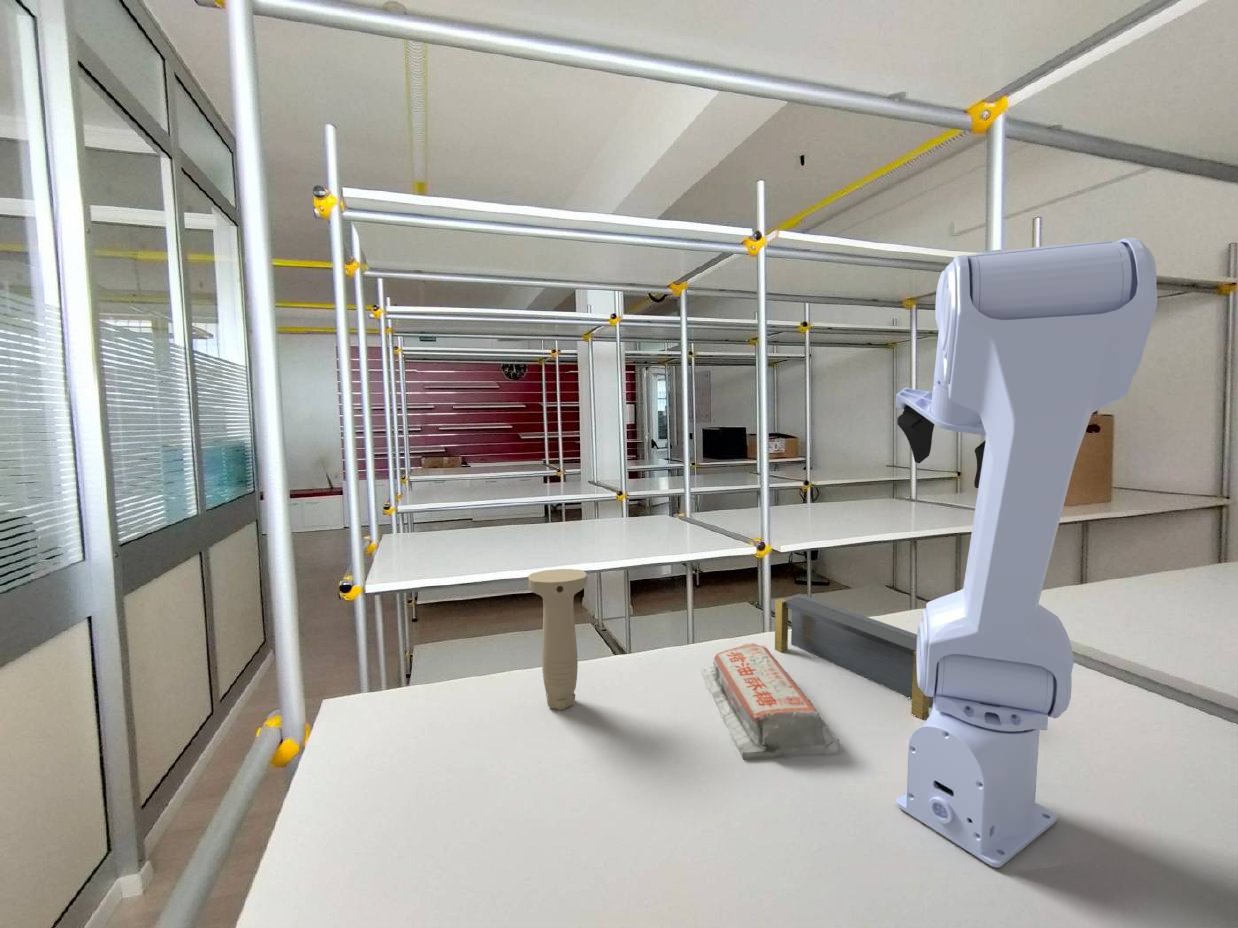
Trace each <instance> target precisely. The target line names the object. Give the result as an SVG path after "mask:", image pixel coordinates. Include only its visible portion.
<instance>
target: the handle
mask: <svg viewBox="0 0 1238 928" xmlns="http://www.w3.org/2000/svg"><path fill="white" fill-rule="evenodd" d="M587 582H588V579H587V572H586V571H584V570H582V569H573V568H559V569H548V570H541V571H540V570H539V571H537V572H532V573H530V574H529V575H528V588H529V590H530V591H531V592H533V593H534V594H536V595H538V596H540V597H542V603H543V604H542V605H543V607H542V609H543V610H542V611H543V612H542V613H543V615H542V617H543V618H542V640H541V641H542V642H541V643H542V646H541V666H542V667H541V669H542V670H541V671H542V678H543V685H544V689H545V697H546V702H547V707H549V708H550V709H556V710H559V711H564V710H565V709H567V708H569V707H572V706H574V704H575V702H576V694H575V691H576V687H577V682H578V681H577V680H578V669H579V668H578V667H579V666H578V664H579V663H578V661H579V660H578V647H577V635H576V634H577V633H576V624H575V623H576V622H575V610H574V609H575V608H574V600H575V599H574V597H575V595H576V594H577V593H579V592H581V591H582V590H583V589H585V588H586V587H587Z"/></svg>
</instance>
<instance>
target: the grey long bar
mask: <svg viewBox="0 0 1238 928" xmlns="http://www.w3.org/2000/svg"><path fill="white" fill-rule="evenodd" d="M774 603H775V604H774V605H775V607H774V608H775V610H774V612H775V613H774V620H775V621H774V650H775V651H778V652H779V653H784V652H787V651H788V646H789V645H788V643H789V640H788V639H789V609H790V610H791V627H790V628H791V630H792V631H791V630H790V632H791V634H790V637H791V638H790V640H791V641H790V645H792V646H795V647H797V648H799V649H801V650H803V651H805V652H808V653H810V654H811V655H812V654H813V655H814V656H816V657H819V658H821V659H822V660H825V661H828V662H830V663H832V664H834V665H835V666H838V667H840V668H843V669H845V670H847V671H849V672H852V673H854V674H857V675H858V676H861V677H863V678H865V679H868V681H869V680H870V681H872V682H874V683H876V684H878V685H880V686H883V687H885V688H888V689H889V690H892V691H894V692H896V693H898V694H901V695H903V696H905V697H907V696H908V697H907V698H909V697H910V699H911V698H912V699H911V711H910V712H911V714H913V715H915V716H914V717H916V716H917V717H916V718H918V719H920V718H921V719H920V720H924V719H926V718H928V717H929V716H930V714H929V713H930V708H931V707H932V708H933V701H934V700H933V697H929V696H925V695H924V693H923V692H922V691H921V689H920V688H919V687H918V683H917V665H916V653H917V634H916V633H914V632H911V631H909V630H906V629H902V628H900V627H896V626H893V625H891V624H888V623H885V622H882V621H880V620H876V619H874V618H871V617H868V616H865V615H862V614H859V613H857V612H853V611H850V610H848V609H846V608H841V607H839V606H837V605H833V604H831V603H828V602H825V601H823V600H819V599H816V598H813V597H811V596H807V595H804V594H802V593H798V594H794V595H791V599H788V600H787V599H784V598H779V599H775V602H774ZM913 715H912V716H913Z"/></svg>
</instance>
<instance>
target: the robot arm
mask: <svg viewBox="0 0 1238 928" xmlns="http://www.w3.org/2000/svg"><path fill="white" fill-rule="evenodd" d="M1156 265H1157V264H1156V259H1155V257H1154V254H1153V252H1152V251H1151V249H1149V248H1148V247H1147V246H1146V244H1145V243H1144V242H1143V241H1142V240H1141V239H1139V238H1138V237H1125V238H1121V239H1120V240H1117V241H1115V242H1114V241H1112V240H1111V241H1109V240H1105V241H1103V240H1102V241H1091V242H1090V241H1089V242H1081V243H1066V244H1065V243H1064V244H1054V245H1045V246H1044V245H1043V246H1035V247H1034V246H1033V247H1024V248H1016V249H1007V250H1001V249H996V250H995V249H994V250H993V249H992V250H986V251H985V250H983V251H981V252H980V253H975V254H969V255H968V254H967V255H966V254H963V255H957V256H955V257H954V258H953V260H952V261H950V263H949V264H948V265H946V267H945V269H944V270H942V271H941V273H940V276H939V279H938V282H937V286H936V293H935V294H936V295H935V311H934V312H935V323H936V327H937V330H938V335H937V344H936V354H935V365H934V372H933V373H934V374H933V385H932V391H930V390H929V391H928V390H920V389H913V388H910V387H908V386H907V387H904V388H903V389H902V390H901V391H899V392H897V393H896V396H895V408H896V409H897V408H898V409H900V410H903V411H902V413H901V415H899V416H898V417H897V420H896V424H897V426H898V427H899V428H900V429H901V430H902V432H903V433H904V435H905V436H906V439H907V441H908V443H909V446H910V450H911V452H912V456H913V460H914V463H917V464H921V463H922V462H923V461H925V459H927V458H928V457H929V456H930V454H931V450H932V442H933V434H934V428H935V426H937V427H939V428H940V429H944V430H947V431H953V432H959V433H966V434H971V435H980V436H986V437H985V440H983V441H982V442H981V443H980V444H979V445H978V446H976V447H975V448H974V454H975V457H976V458H975V459H976V473H975V476H974V483H973V485H974V488H976V489H978V490H977V496H976V497H977V498H976V502H975V508H974V509H975V510H974V515H973V523H972V530H971V537H970V541H969V549H968V554H967V562H966V568H965V574H964V581H963V588H961V589H960V590H957V591H955V592H952V593H949V594H946V595H944V596H943V595H942V596H940V597H938V598H935V599H933V600H930V601H928V602H927V603H926V605H925V606H926V607H925V609H923V610H922V614H921V619H920V620H921V621H920V622H919V623H918V625H917V653H916V665H917V683H918V687H919V688H920V689H921V691H922V692H923V693H924V695H925V696H929V697H933V700H934V701H933V708H932V709H931V711H930V712H929V713H930V714H929V716H928V717H927V719H926V720H925V721H924V722H923V724H921V725H920V726H919V727H918V728H917V729H916V730H915V731H913V733H912V734H911V736H910V738H909V742H908V751H907V752H908V753H907V754H908V755H907V756H908V757H907V776H906V777H907V779H906V780H907V782H906V792H905V793H904V794H902V795H901V796H899V797H897V798H896V800H895V804H896V806H897V807H898V808H899V809H901V810H903V811H904V812H905V813H907V814H909V815H910V816H911V817H913V818H915V819H916V820H917V821H919V822H921V823H923V824H924V825H925V826H927V827H929V828H931V829H932V830H933V831H935V832H937V833H939V834H940V835H942V836H943V837H945V838H946V839H948V840H950V841H951V842H953V843H954V844H956V845H957V846H959V847H961V848H962V849H963V850H965V851H967V852H968V853H970V854H971V855H973V856H975V857H976V858H978V859H979V860H981V861H982V862H984V863H985V864H988V866H991V867H994V868H1001V867H1002V866H1004V864H1006V863H1007V862H1008V861H1010V860H1011V859H1012V858H1013V857H1015V856H1016V855H1017V854H1018V853H1020V852H1021V851H1022V850H1023V849H1025V848H1026V847H1027V846H1028V845H1030V843H1032V842H1033V841H1034V840H1036V839H1037V838H1038V837H1039V836H1040V835H1042V834H1043V833H1044V832H1045V831H1047V830H1048V829H1049V828H1051V826H1053V825H1054V824H1055V823H1056V822H1058V821H1057V820H1058V816H1057V814H1056V813H1055V812H1053V811H1052V810H1050V809H1048V808H1045V807H1044V806H1042V805H1040V804H1038V803H1036V794H1037V793H1036V792H1037V791H1036V790H1037V775H1038V758H1039V743H1040V730H1041V731H1048V723H1049V722H1048V721H1049V718H1053V719H1058V718H1060V717H1061V715H1063V713H1065V712H1066V711H1067V710H1068V707H1069V705H1070V703H1071V702H1070V701H1071V699H1072V698H1071V697H1072V686H1073V685H1072V673H1073V669H1074V668H1073V667H1074V663H1075V659H1074V653H1073V648H1072V644H1071V641H1070V636H1069V635H1068V633H1067V630H1066V628H1065V627H1064V625H1063V622H1062V620H1061V618H1060V617H1058V615H1057V614H1055V613H1053V612H1052V611H1050V610H1049V609H1047V608H1045V607H1044V606H1043V605H1041V604H1039V603H1040V599H1041V594H1042V591H1043V586H1044V583H1045V580H1046V577H1047V576H1046V575H1047V571H1048V567H1049V564H1050V560H1051V556H1052V552H1053V548H1054V545H1055V540H1056V537H1057V533H1058V529H1059V525H1060V521H1061V517H1062V513H1063V511H1064V506H1065V501H1066V497H1067V495H1068V490H1069V485H1070V483H1071V478H1072V475H1073V471H1074V466H1075V463H1076V459H1077V457H1078V453H1079V451H1080V448H1081V444H1082V442H1083V440H1084V437H1085V434H1086V430H1087V429H1088V425H1089V424H1090V420H1091V417H1092V415H1093V414H1094V413H1095V412H1096V411H1099V410H1101V409H1102V408H1105V407H1107V406H1109V405H1111V404H1113V403H1115V402H1117V401H1119V400H1122V399H1123V398H1125V397H1127V396H1128V394H1129V391H1130V388H1131V386H1132V382H1133V379H1134V377H1135V376H1136V375H1137V373H1138V372H1139V371H1138V370H1139V368H1140V364H1141V362H1142V359H1143V355H1144V351H1145V347H1146V344H1147V341H1148V338H1149V334H1150V331H1151V328H1152V325H1153V321H1154V317H1155V314H1156V311H1157V305H1158V290H1157V287H1158V286H1157V282H1158V281H1157V277H1158V276H1157V267H1156Z"/></svg>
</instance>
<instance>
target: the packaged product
mask: <svg viewBox="0 0 1238 928" xmlns="http://www.w3.org/2000/svg"><path fill="white" fill-rule="evenodd" d="M712 665H713V666H711V667H710V666H709V668H708V669H706V668H703V667H700V668H701V669H700V671H701V675H702V678H703V680H704V682H705V684H706V686H707V688H708V690H709V692H710V694H711V695H712V698H713V700H714V701H713V702H714V703H715V705H716V707H717V710H718V712H719V715H720V717H721V719H722V721H723V723H724V724H725V726H726V727H727V729H728V731H729V733H730V736H731V739H732V741H733V742H734V744H735V746H736V748H737V751H738V752H739V754H740V756H741V757H742V759H743V760H744V761H745V760H760V759H761V760H762V759H777V758H778V759H779V758H795V757H806V756H807V757H809V756H821V755H836V754H839V753H840V743H841V741H840V740H841V739H840V738H838V737H836V735H835V732H834V731H833V730H831V728H830V727H829V725H828V724H827V723H826V722H825V721H824V719H823V718H822V716H821V714H820V712H819V711H818V710H817V709H816V708H815V707H814V705H813V703H812V702H811V700H810V699H809V698H808V697H807V696H806V695H805V693H804V692H803V691H802V689H801V688H799V687H798V686H797V684H796V683H795V682H794V680H793V679H792V678H791V676H790V675H789V674H788V673H787V671H786V670H785V669H784V668H783V666H782V665H781V664H780V663H779V662H778V660H777V658H775V657H774V655H773V654H771V651H770V650H769V649H768V648H767V646H766V645H759V644H757V643H754V642H753V643H752V642H751V643H745V644H743V645H740V646H736V647H733V648H730V649H726V650H723V651H721V652H719V653H716V655H715V656H714V658H713V662H712Z"/></svg>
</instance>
